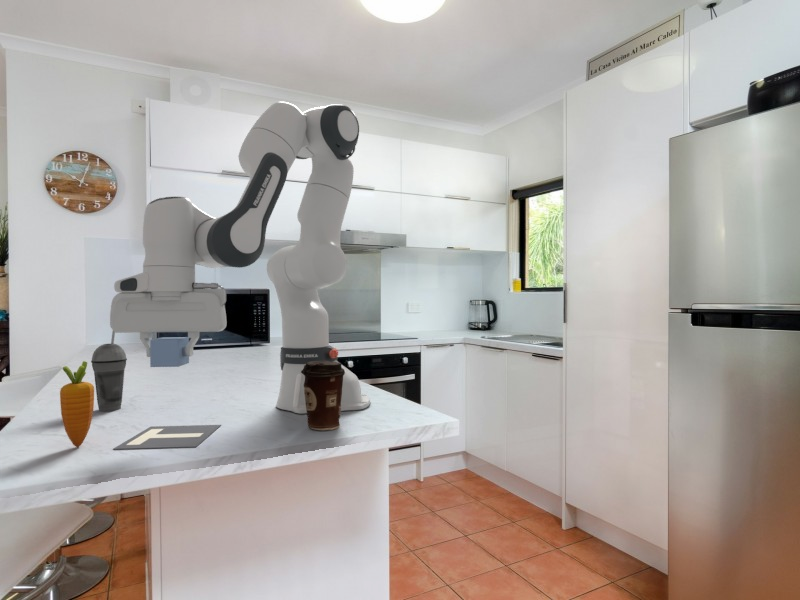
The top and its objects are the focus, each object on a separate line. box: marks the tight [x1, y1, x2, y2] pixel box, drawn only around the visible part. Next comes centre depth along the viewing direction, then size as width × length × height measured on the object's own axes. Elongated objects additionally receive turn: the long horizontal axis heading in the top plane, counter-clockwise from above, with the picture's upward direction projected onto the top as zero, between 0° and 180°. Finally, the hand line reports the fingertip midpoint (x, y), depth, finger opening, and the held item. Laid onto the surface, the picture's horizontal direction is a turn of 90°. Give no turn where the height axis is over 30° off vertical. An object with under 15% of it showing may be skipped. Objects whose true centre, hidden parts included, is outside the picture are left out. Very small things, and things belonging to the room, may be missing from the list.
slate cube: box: [149, 336, 190, 368], centre depth 89 cm, size 5×5×5 cm
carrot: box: [59, 360, 95, 448], centre depth 83 cm, size 5×5×15 cm
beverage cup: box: [90, 330, 128, 413], centre depth 111 cm, size 7×7×20 cm
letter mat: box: [112, 424, 222, 451], centre depth 89 cm, size 14×14×1 cm
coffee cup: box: [301, 361, 345, 431], centre depth 95 cm, size 9×8×13 cm
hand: (170, 356), depth 89 cm, fingers closed on slate cube, 5 cm apart
